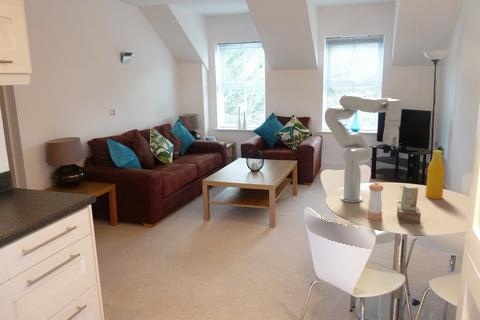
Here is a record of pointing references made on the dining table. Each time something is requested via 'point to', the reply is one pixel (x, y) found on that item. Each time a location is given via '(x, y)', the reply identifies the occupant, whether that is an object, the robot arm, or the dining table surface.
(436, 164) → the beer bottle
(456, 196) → the dining table surface
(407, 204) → the skincare box
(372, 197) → the pepper shaker
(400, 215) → the walnut block
